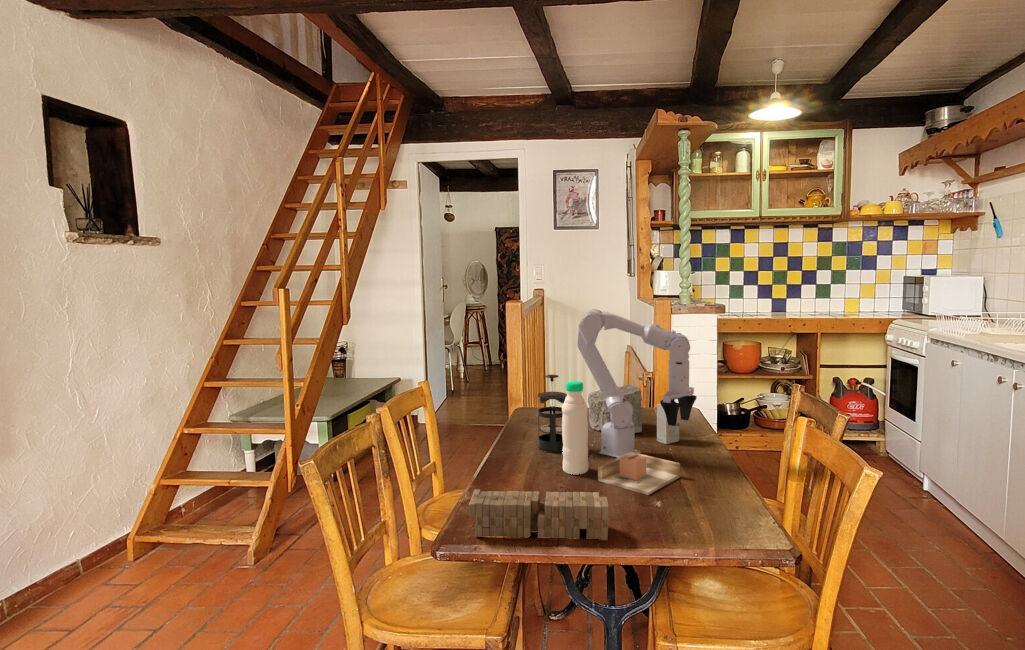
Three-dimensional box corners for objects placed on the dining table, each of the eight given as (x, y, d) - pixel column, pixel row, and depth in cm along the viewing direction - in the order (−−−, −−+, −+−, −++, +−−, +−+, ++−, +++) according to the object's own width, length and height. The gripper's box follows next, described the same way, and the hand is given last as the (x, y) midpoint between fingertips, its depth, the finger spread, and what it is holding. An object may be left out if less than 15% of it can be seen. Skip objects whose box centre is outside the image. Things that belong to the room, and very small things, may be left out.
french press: (568, 453, 180) (567, 378, 178) (537, 453, 181) (536, 378, 178) (567, 441, 192) (566, 370, 189) (538, 441, 193) (536, 371, 190)
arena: (598, 480, 158) (597, 466, 157) (631, 464, 169) (631, 451, 169) (648, 495, 148) (648, 480, 147) (679, 477, 159) (680, 463, 159)
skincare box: (666, 444, 186) (666, 406, 185) (655, 441, 190) (656, 403, 189) (680, 441, 190) (680, 403, 189) (669, 437, 194) (669, 400, 192)
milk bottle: (591, 468, 167) (590, 380, 164) (583, 477, 161) (582, 385, 158) (567, 465, 170) (566, 378, 167) (559, 473, 164) (557, 383, 161)
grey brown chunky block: (581, 423, 212) (580, 382, 211) (625, 419, 217) (625, 378, 216) (605, 438, 194) (604, 393, 193) (652, 432, 200) (652, 388, 198)
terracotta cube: (636, 480, 154) (636, 461, 154) (619, 476, 158) (619, 457, 157) (646, 475, 158) (646, 456, 157) (630, 470, 161) (630, 452, 161)
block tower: (605, 529, 132) (474, 522, 135) (606, 492, 132) (474, 486, 134) (607, 545, 125) (468, 538, 127) (608, 506, 124) (468, 500, 126)
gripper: (679, 382, 164) (678, 430, 165) (703, 373, 174) (703, 419, 176) (656, 379, 169) (656, 426, 170) (681, 371, 179) (681, 415, 181)
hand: (678, 422), depth 173 cm, fingers open, 7 cm apart
